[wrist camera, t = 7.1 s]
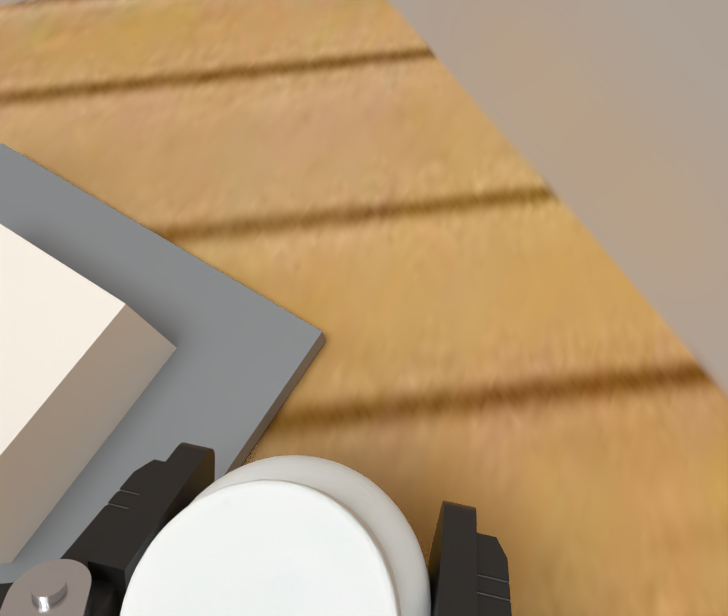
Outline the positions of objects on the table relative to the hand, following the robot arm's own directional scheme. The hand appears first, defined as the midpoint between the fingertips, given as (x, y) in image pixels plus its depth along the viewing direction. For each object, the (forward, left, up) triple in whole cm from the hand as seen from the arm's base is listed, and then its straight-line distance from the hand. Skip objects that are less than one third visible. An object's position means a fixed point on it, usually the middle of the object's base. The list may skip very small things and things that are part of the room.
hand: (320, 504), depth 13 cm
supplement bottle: (+1, -1, -5) cm, 5 cm away
